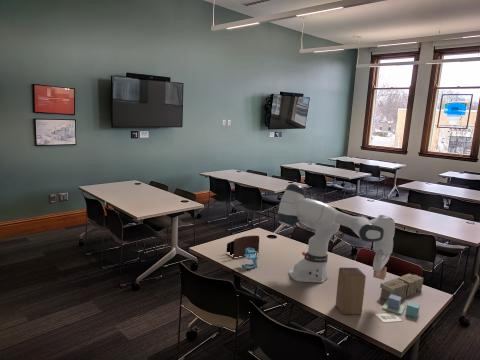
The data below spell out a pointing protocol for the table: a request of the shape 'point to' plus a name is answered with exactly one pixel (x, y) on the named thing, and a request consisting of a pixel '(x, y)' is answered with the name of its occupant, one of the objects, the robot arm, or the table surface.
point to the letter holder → (243, 245)
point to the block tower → (401, 286)
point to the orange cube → (383, 273)
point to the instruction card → (388, 317)
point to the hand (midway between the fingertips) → (379, 273)
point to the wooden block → (350, 290)
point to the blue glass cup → (251, 257)
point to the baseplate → (394, 305)
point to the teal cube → (412, 309)
